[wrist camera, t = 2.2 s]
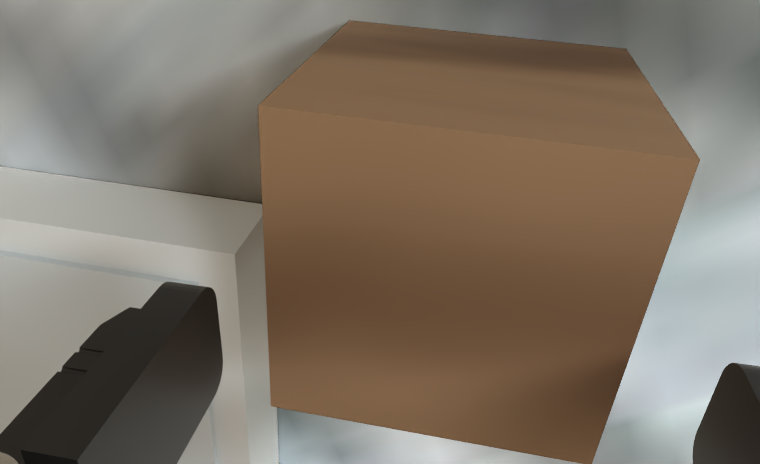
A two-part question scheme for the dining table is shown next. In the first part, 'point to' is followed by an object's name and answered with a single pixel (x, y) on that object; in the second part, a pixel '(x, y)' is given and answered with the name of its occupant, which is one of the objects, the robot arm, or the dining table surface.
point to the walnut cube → (464, 232)
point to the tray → (133, 291)
